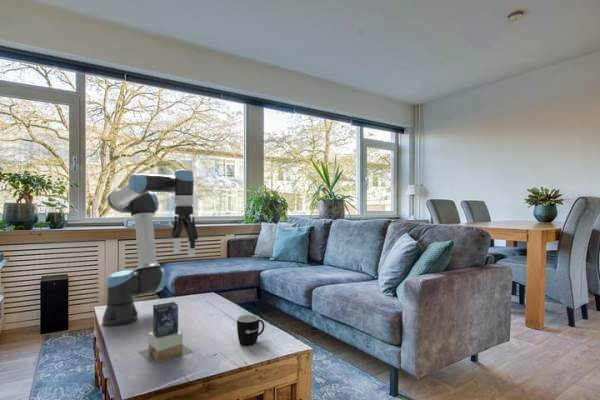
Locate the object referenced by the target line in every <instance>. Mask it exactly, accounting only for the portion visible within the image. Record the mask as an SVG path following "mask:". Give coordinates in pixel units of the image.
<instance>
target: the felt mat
mask: <svg viewBox="0 0 600 400" xmlns="http://www.w3.org/2000/svg"><path fill="white" fill-rule="evenodd" d="M192 353H194V351H193V350H192V349H190V348H188V347H187V346H185V345H184V344H183V345H182V355H179V356H176V357H173V358H170V359H167V360H165V361H162V362H159V363H158V362H157V361H156V360H155V359H153V358H152V357H151V356H150V355H149V348H147V349H142V350H140V351H138V354H140V355H141V356H142V358H144V359H146V361H148V362H149V363H150V364H151V365H152V366H156V365H159V364H163V363H166V362H168V361H171V360H174V359H175V360H176V359H177V358H180V357H183V356H186V355H189V354H192Z"/></svg>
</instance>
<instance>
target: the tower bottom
mask: <svg viewBox="0 0 600 400" xmlns="http://www.w3.org/2000/svg"><path fill="white" fill-rule="evenodd" d="M182 345H184V344H183V343H182V344H180V345H177V346H174V347H170V348H167V349H164V350H161V351H157V350H156V349H155V348H153V347H152V346H151V345H150V344H149V343H148V349H149V355H150V356H151V357H152V358H153V359H155V360H156V361H157V362H158V363H159V362H162V361H165V360H167V359H170V358H173V357H176V356H179V355H182Z"/></svg>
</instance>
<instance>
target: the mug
mask: <svg viewBox="0 0 600 400" xmlns="http://www.w3.org/2000/svg"><path fill="white" fill-rule="evenodd" d="M260 323H261V324H262V329H261V330H260V329H259V328H260ZM265 325H266V324H265V322H264V321H263V320H261V319H260V316H258V315H256V314H243V315H239V316H238V317H237V318H236V331H237V337H238V342H239V345H241V346H243V347H250V346H251V347H252V346H254V345H256V343H257V341H258V337H259V336H260V335H262V334H263V332H264V330H265V328H266V327H265ZM259 330H260V332H259Z"/></svg>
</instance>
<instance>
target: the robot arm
mask: <svg viewBox="0 0 600 400" xmlns="http://www.w3.org/2000/svg"><path fill="white" fill-rule="evenodd" d="M128 179H129V180H128V182H127V184H125V185H124V186H122V187H120V188H116V189H114V190H113V191H111V192H110V193H109V194H108V196H107V203H108V206H109V207H110V208H111V209H112V210H114V211H116V212H118V213H121V214H122V213H123V214H130V217H131V219H133V220H134V226H135V236H136V238H135V239H136V249H137V251H136V252H137V260H138V261H137V262H138V266H137V267H136V268H135V272H134V270H132V269H127V270H126V269H125V270H121V271H120V270H119V271H116V272H113V273H111V274H109V276H108V277H107V279H106V286H105V287H106V307H105V310H104V313H103V316H102V325H103V326H106V327H116V326H118V327H120V326H124V325H129V324H131V323H133V322H135V321H137V320H138V318H139V313H138V310H137V308H136V305H135V297H140V296H144V295H149V294H155V293H158V292H161V291H162V290H164V289H165V285H166V281H167V274H166V270H165V269H164V268H162V267H161V264H160V263H158V261H157V250H156V243H155V239H156V238H155V231H154V230H155V229H154V222H153V218H154V217H155V216H156V213H157V212H158V210H159V206H160V205H159V200H158V197H157V195H156V194H155V193H172V194H173V193H174V198H173V199H174V204H175V206H174V214H175V216H174V220H173V225H172V230H171V237H172V238H173V253H174V254H177V253H181V238H182V237H181V234H182V231H183V229H185V232H186V235H187V238H188V239H187V257H189V258H190V257H195V256H196V241H197V240H199V236H198V235H199V234H198V231H197V227H196V223H195V217H194V216H191V215H194V206H193V205H194V172H193V171H192V170H190V169H176V170H175V171H174V175H166V174H165V175H163V174H147V173H132V174H131V175H130V176H129V178H128Z"/></svg>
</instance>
